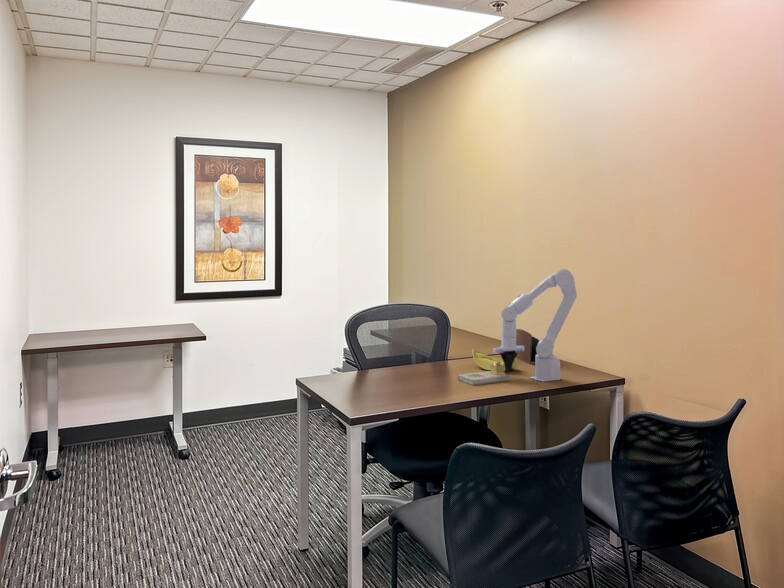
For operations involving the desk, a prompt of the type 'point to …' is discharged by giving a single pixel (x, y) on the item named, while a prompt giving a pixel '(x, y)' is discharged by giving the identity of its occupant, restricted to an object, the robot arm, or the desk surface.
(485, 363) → the yellow curved piece
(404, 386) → the desk surface
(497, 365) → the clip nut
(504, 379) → the grey stone slab
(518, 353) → the letter holder
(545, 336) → the robot arm
